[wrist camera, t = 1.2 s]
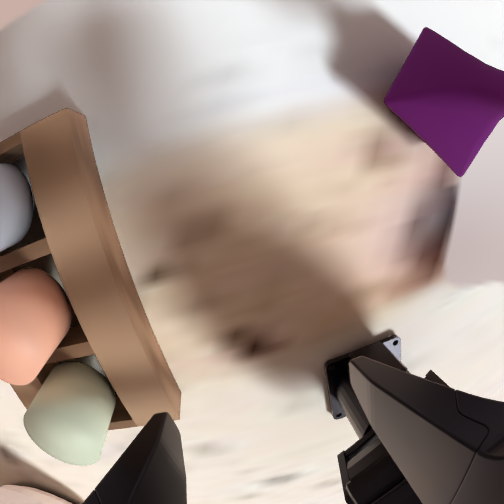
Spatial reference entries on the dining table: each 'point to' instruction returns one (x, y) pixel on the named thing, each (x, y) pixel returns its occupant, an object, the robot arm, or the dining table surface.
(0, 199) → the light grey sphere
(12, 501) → the bowl
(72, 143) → the wooden compartment tray
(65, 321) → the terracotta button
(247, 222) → the dining table surface
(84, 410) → the pale green rounded cube
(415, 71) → the perfume bottle
